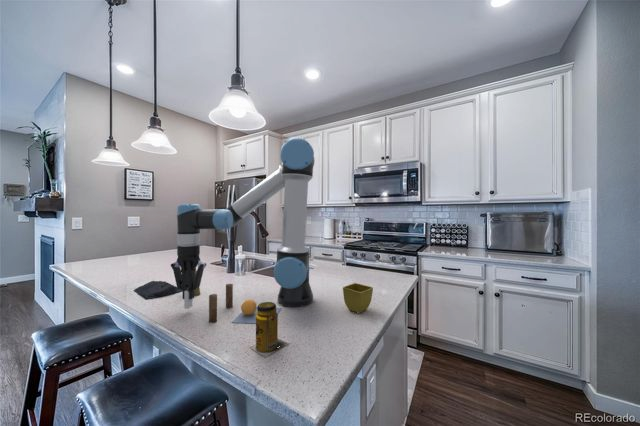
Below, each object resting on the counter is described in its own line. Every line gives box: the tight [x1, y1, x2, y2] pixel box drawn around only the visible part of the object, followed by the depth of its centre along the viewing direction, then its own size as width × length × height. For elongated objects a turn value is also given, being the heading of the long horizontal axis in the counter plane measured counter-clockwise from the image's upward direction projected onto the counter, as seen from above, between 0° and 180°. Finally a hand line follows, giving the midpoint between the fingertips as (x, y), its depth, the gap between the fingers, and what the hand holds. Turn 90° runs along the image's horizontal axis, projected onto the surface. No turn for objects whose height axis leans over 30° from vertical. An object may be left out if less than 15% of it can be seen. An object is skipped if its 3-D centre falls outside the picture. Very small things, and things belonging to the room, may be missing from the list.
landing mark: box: [231, 307, 282, 325], centre depth 90 cm, size 14×14×1 cm
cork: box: [194, 269, 201, 298], centre depth 112 cm, size 6×6×11 cm
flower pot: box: [342, 282, 374, 314], centre depth 96 cm, size 9×9×9 cm
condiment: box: [249, 301, 290, 358], centre depth 70 cm, size 7×8×12 cm
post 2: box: [225, 283, 234, 309], centre depth 98 cm, size 3×3×9 cm
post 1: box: [208, 293, 218, 324], centre depth 85 cm, size 3×3×9 cm
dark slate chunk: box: [133, 280, 183, 300], centre depth 117 cm, size 15×22×5 cm
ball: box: [240, 299, 258, 315], centre depth 91 cm, size 6×6×6 cm
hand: (188, 307), depth 93 cm, fingers closed
